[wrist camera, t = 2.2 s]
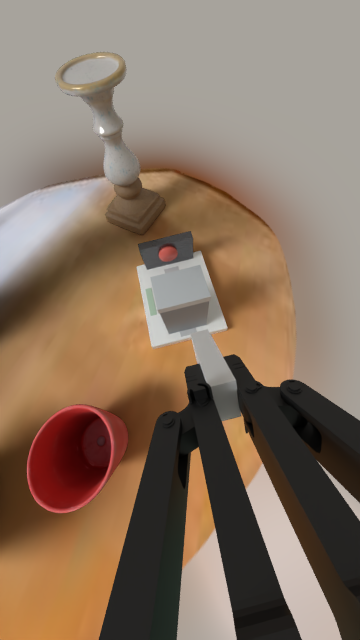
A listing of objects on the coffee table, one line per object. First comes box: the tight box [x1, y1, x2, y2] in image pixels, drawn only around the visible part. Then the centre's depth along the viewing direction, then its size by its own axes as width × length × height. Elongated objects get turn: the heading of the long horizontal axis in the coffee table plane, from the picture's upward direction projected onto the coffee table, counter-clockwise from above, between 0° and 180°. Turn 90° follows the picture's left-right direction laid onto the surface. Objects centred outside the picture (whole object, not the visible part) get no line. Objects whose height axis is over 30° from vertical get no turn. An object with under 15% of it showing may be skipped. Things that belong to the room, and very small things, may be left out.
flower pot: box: [27, 404, 128, 513], centre depth 28 cm, size 11×11×10 cm
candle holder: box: [55, 52, 165, 235], centre depth 39 cm, size 11×11×24 cm
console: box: [137, 231, 227, 349], centre depth 37 cm, size 18×14×8 cm
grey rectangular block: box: [150, 265, 211, 334], centre depth 32 cm, size 5×7×11 cm
